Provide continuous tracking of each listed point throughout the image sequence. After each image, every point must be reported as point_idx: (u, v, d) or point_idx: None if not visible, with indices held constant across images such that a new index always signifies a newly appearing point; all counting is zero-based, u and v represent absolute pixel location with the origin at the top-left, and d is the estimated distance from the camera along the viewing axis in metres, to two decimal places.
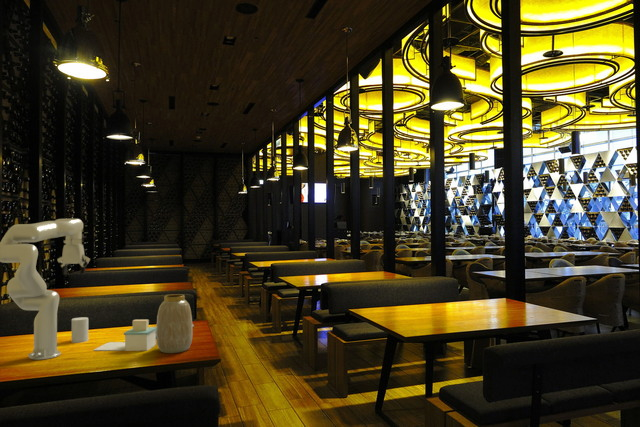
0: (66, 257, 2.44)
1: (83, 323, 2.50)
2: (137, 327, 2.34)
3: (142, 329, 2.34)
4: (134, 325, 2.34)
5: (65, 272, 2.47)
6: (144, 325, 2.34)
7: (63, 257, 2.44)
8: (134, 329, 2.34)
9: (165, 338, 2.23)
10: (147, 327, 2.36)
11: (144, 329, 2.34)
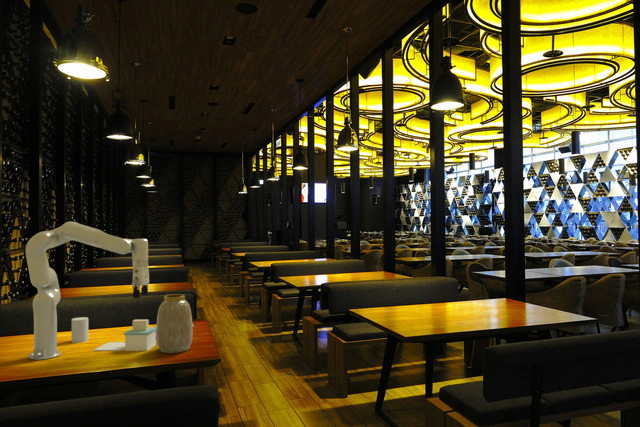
0: (143, 278, 2.34)
1: (83, 323, 2.50)
2: (137, 327, 2.34)
3: (142, 329, 2.34)
4: (134, 325, 2.34)
5: None
6: (144, 325, 2.34)
7: (142, 278, 2.32)
8: (134, 329, 2.34)
9: (165, 338, 2.23)
10: (147, 327, 2.36)
11: (144, 329, 2.34)
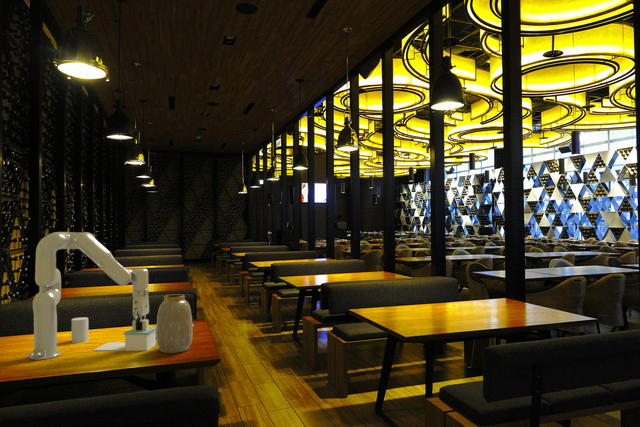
0: (143, 309, 2.34)
1: (83, 323, 2.50)
2: None
3: (142, 329, 2.34)
4: (134, 325, 2.34)
5: None
6: (144, 325, 2.34)
7: (142, 309, 2.32)
8: (134, 329, 2.34)
9: (165, 338, 2.23)
10: (147, 327, 2.36)
11: (144, 329, 2.34)
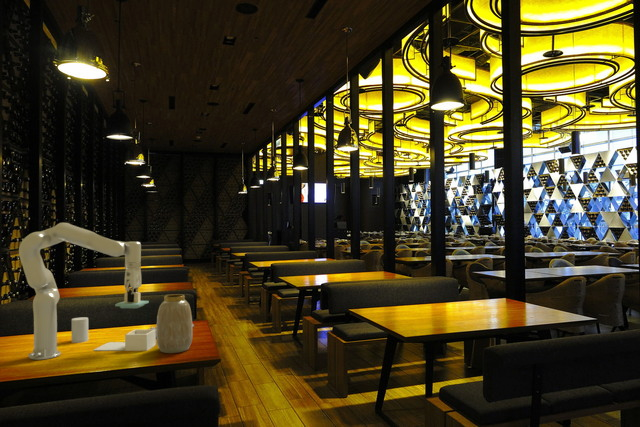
0: (135, 281, 2.35)
1: (83, 323, 2.50)
2: None
3: (134, 301, 2.35)
4: (126, 297, 2.36)
5: None
6: (136, 297, 2.35)
7: (134, 281, 2.33)
8: (126, 301, 2.35)
9: (165, 338, 2.23)
10: (139, 300, 2.37)
11: (136, 301, 2.35)
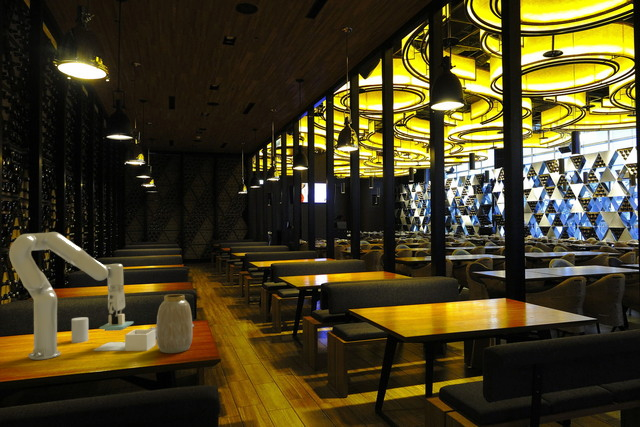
0: (119, 303, 2.36)
1: (83, 323, 2.50)
2: None
3: (118, 323, 2.37)
4: (110, 319, 2.37)
5: None
6: (120, 319, 2.37)
7: (117, 304, 2.35)
8: (110, 323, 2.37)
9: (165, 338, 2.23)
10: (123, 321, 2.39)
11: (120, 323, 2.37)
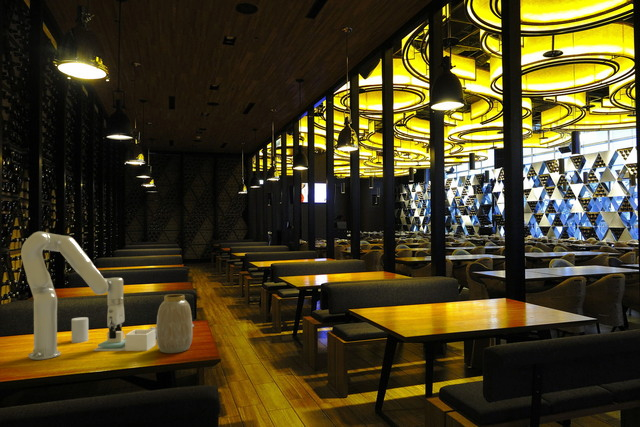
0: (118, 317, 2.36)
1: (83, 323, 2.50)
2: (112, 339, 2.37)
3: (117, 341, 2.37)
4: None
5: None
6: (119, 336, 2.37)
7: (116, 318, 2.34)
8: (109, 341, 2.37)
9: (165, 338, 2.23)
10: (122, 339, 2.38)
11: (119, 341, 2.36)
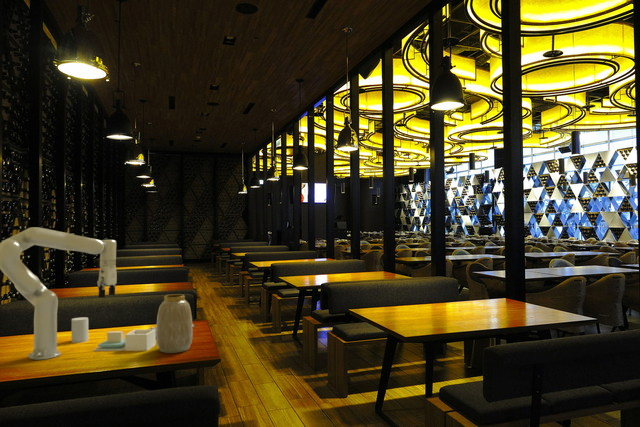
0: (110, 278, 2.39)
1: (83, 323, 2.50)
2: (112, 339, 2.37)
3: (117, 341, 2.37)
4: (109, 337, 2.37)
5: None
6: (119, 336, 2.37)
7: (108, 279, 2.37)
8: (109, 341, 2.37)
9: (165, 338, 2.23)
10: (122, 339, 2.38)
11: (119, 341, 2.36)
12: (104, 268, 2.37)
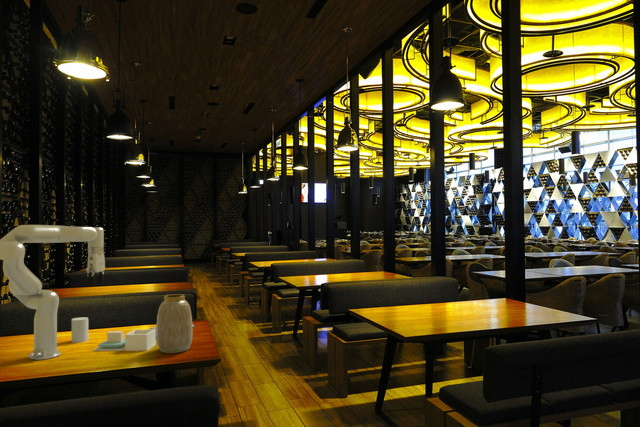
0: (98, 265, 2.44)
1: (83, 323, 2.50)
2: (112, 339, 2.37)
3: (117, 341, 2.37)
4: (109, 337, 2.37)
5: None
6: (119, 336, 2.37)
7: (96, 265, 2.43)
8: (109, 341, 2.37)
9: (165, 338, 2.23)
10: (122, 339, 2.38)
11: (119, 341, 2.36)
12: (92, 255, 2.42)
